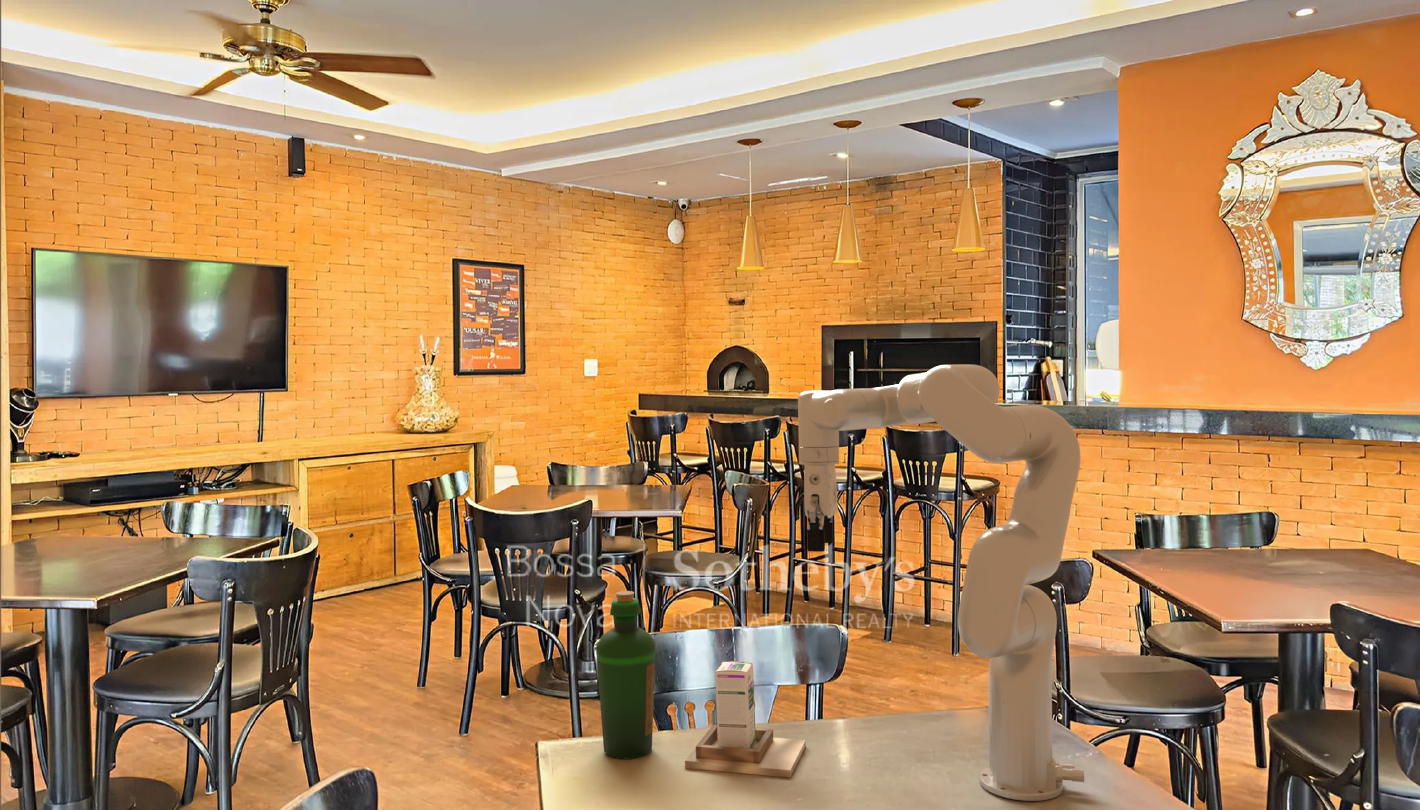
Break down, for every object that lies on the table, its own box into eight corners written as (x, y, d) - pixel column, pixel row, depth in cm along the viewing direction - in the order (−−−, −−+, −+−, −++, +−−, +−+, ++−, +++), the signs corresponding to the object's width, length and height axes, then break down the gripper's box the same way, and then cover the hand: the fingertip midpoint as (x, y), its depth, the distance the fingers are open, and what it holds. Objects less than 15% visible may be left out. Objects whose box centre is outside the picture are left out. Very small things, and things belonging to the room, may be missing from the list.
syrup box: (750, 756, 168) (748, 671, 168) (716, 754, 169) (714, 669, 169) (756, 744, 174) (754, 661, 173) (723, 742, 175) (721, 660, 175)
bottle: (671, 749, 175) (667, 591, 174) (626, 767, 167) (622, 602, 167) (630, 736, 182) (627, 584, 182) (585, 752, 174) (581, 594, 174)
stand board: (805, 746, 175) (805, 728, 175) (790, 777, 162) (790, 758, 162) (707, 738, 180) (707, 721, 180) (684, 767, 167) (684, 749, 167)
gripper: (831, 459, 177) (833, 555, 177) (845, 452, 194) (846, 540, 194) (790, 459, 179) (791, 554, 179) (807, 452, 196) (808, 539, 196)
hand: (820, 546), depth 187 cm, fingers open, 9 cm apart
